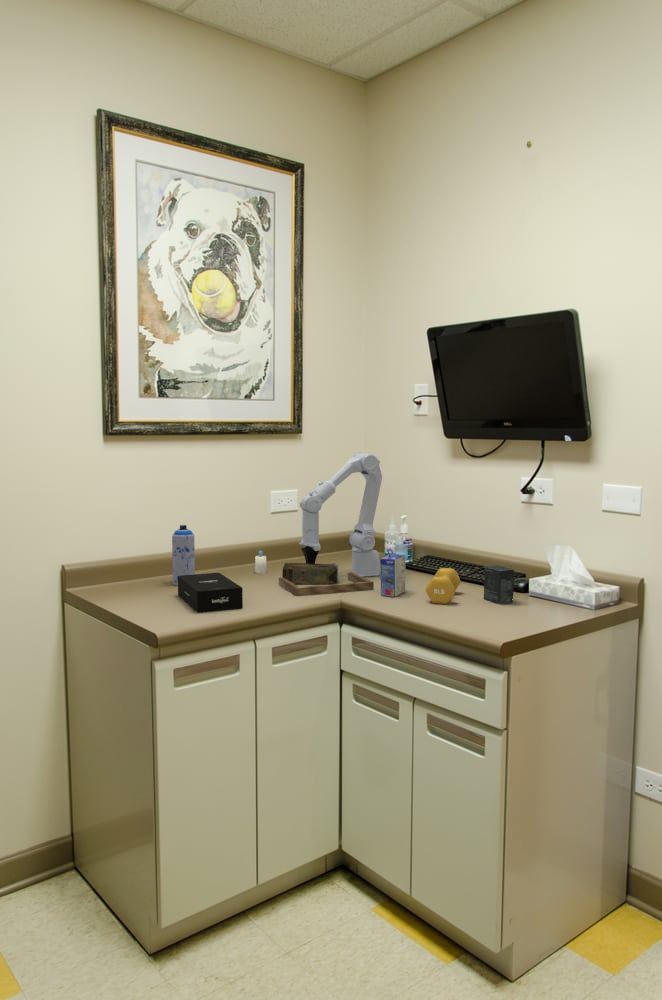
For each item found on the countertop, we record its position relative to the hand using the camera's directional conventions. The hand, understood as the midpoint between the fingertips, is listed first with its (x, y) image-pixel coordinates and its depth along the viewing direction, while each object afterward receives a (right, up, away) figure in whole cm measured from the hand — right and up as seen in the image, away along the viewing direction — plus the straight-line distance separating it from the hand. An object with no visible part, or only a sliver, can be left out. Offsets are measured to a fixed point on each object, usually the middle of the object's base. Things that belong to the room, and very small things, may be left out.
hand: (310, 568), depth 268 cm
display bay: (+6, -5, -13) cm, 15 cm away
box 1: (-30, -8, -34) cm, 46 cm away
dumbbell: (+43, -7, -27) cm, 51 cm away
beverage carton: (0, -5, -5) cm, 7 cm away
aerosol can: (-43, -5, -8) cm, 44 cm away
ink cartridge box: (+27, -7, -22) cm, 35 cm away
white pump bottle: (-18, -3, +11) cm, 22 cm away
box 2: (+59, -8, -31) cm, 67 cm away
